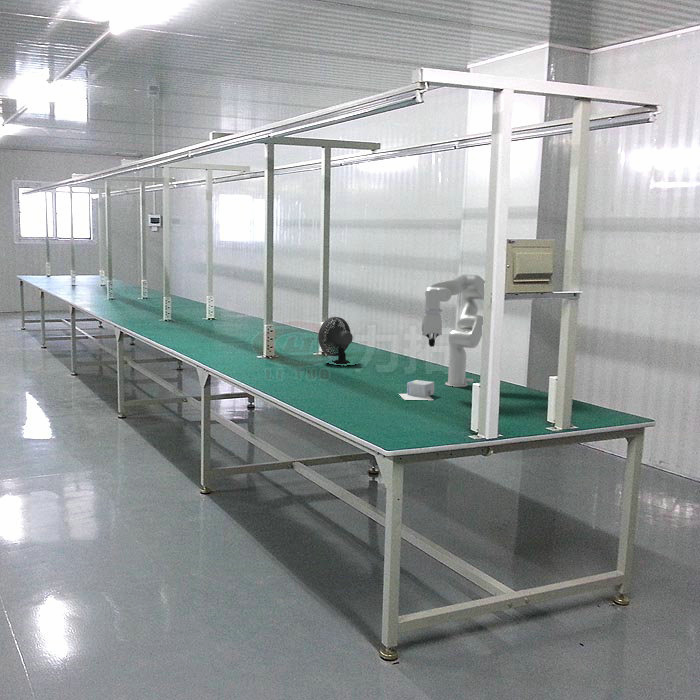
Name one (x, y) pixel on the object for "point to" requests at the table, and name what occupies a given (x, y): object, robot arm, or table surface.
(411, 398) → the mat
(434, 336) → the robot arm
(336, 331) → the fan
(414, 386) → the light bulb box
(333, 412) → the table surface
